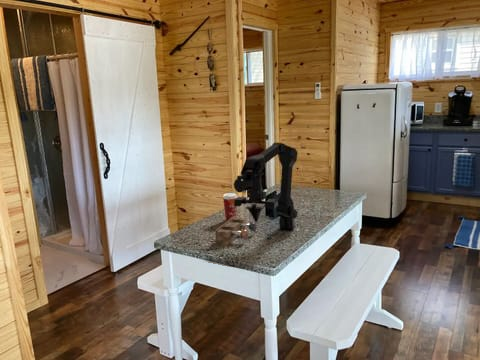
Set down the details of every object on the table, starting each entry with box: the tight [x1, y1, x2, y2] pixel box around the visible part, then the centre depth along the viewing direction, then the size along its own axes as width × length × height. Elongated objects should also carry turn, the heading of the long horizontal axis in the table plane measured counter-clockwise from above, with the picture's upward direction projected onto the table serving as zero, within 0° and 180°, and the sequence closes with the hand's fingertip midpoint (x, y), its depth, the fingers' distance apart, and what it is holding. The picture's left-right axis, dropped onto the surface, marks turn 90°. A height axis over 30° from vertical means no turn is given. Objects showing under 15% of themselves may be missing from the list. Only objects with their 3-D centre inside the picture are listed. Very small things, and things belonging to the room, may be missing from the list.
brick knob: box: [230, 229, 249, 240], centre depth 178 cm, size 8×4×4 cm, turn 66°
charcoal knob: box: [239, 221, 258, 232], centre depth 186 cm, size 8×4×4 cm, turn 66°
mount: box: [215, 216, 247, 246], centre depth 185 cm, size 6×20×6 cm, turn 156°
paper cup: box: [222, 192, 238, 222], centre depth 206 cm, size 8×8×14 cm
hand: (256, 221), depth 172 cm, fingers closed
